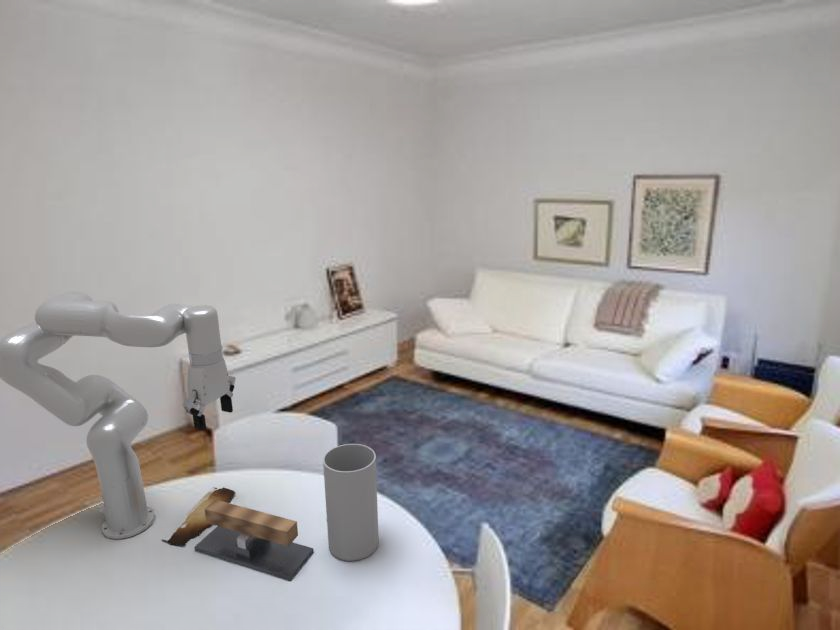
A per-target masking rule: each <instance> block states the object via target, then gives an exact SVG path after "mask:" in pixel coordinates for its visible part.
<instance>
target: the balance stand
mask: <svg viewBox="0 0 840 630" xmlns="http://www.w3.org/2000/svg"><path fill="white" fill-rule="evenodd" d="M193 548H194V551H195V552H196V553H199V554H202V555H207V556H209V557H213V558H217V559H220V560H223V561H225V562H228V563H232V564H235V565H238V566H241V567H245V568H248V569H251V570H254V571H258V572H260V573H264V574H266V575H270V576H273V577H276V578H279V579H283V580H286V581H289V582H291V581H292V580H293V579H294V578H295V576H296V575H297V574H298V573H299V571H301V569H302V568H303V567H304V565H305V564H306V563H307V562H308V560H309V559H310V558H311V557H312V555H313V554H314V551H315V550H314V547H310V546H307V545H303V544H299V543H296V542H294V541H293V542H292V543H291V544H290V545H289V546H286V545H282V544H279V543H275V542H272V541H268V540H265V539H261V538H258V537H254V536H251V535H248V534H244V533H241V532H237V531H234V530H230V529H227V528H223V527H220V526H216V527H215V528H214V529H213V530H212V531H210V532H209V533H208V534H207V535H206V536H205V537H204V538H202V539H201V540H200V541H199V542H198V543H197V544H196V545H195V546H194V547H193Z"/></svg>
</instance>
